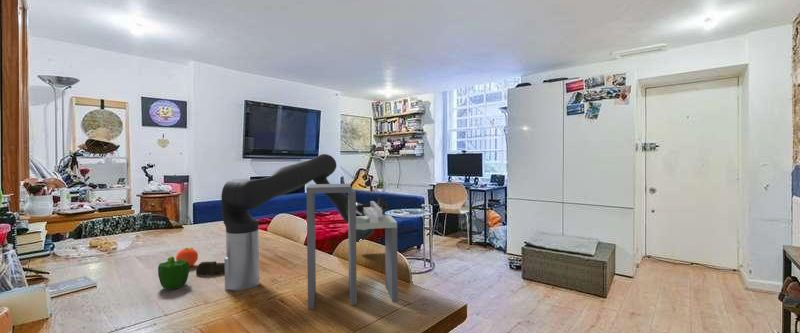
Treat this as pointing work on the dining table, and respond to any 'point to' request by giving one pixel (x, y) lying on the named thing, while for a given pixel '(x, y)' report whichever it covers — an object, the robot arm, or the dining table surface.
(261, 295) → the dining table surface
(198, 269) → the hand tool
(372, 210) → the bracket
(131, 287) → the dining table surface
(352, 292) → the step stand
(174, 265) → the bell pepper
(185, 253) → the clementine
